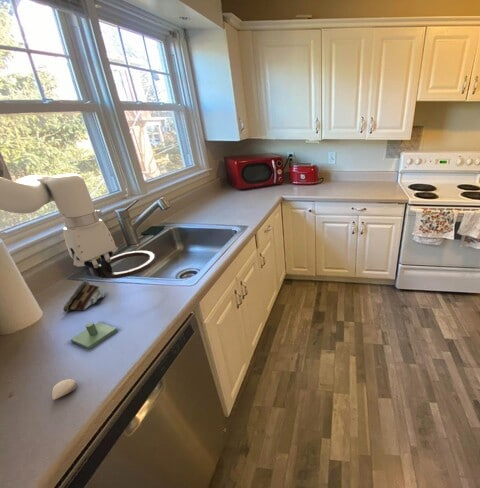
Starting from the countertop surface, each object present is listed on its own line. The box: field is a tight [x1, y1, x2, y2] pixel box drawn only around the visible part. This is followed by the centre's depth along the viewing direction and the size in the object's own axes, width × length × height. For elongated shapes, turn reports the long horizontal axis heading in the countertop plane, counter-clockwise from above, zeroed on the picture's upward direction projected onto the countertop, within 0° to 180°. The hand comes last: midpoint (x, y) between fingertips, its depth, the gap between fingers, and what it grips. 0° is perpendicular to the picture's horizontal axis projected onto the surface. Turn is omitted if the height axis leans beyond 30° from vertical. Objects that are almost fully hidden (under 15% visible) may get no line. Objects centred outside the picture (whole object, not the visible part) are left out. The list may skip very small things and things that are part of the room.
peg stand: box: [70, 321, 118, 350], centre depth 82 cm, size 8×8×4 cm
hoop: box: [98, 250, 157, 280], centre depth 92 cm, size 16×16×1 cm
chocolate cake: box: [62, 278, 105, 313], centre depth 98 cm, size 10×7×12 cm
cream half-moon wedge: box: [51, 378, 77, 400], centre depth 66 cm, size 4×5×2 cm
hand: (105, 275), depth 86 cm, fingers closed on hoop, 1 cm apart
